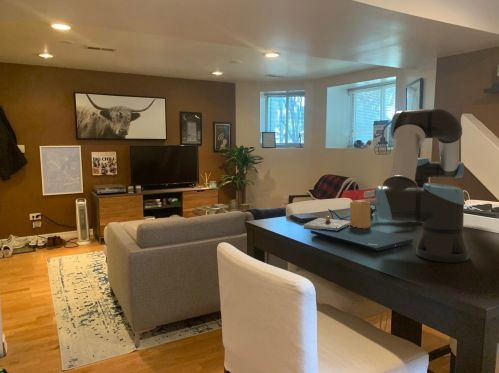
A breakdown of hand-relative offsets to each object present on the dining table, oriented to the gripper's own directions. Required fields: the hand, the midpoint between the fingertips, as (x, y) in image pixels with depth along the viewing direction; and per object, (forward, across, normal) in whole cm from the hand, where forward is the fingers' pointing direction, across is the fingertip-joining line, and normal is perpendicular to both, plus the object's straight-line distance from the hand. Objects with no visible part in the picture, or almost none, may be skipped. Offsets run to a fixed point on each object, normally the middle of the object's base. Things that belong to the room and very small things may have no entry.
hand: (375, 196), depth 166 cm
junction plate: (+20, +9, -12) cm, 26 cm away
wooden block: (+10, 0, -12) cm, 16 cm away
